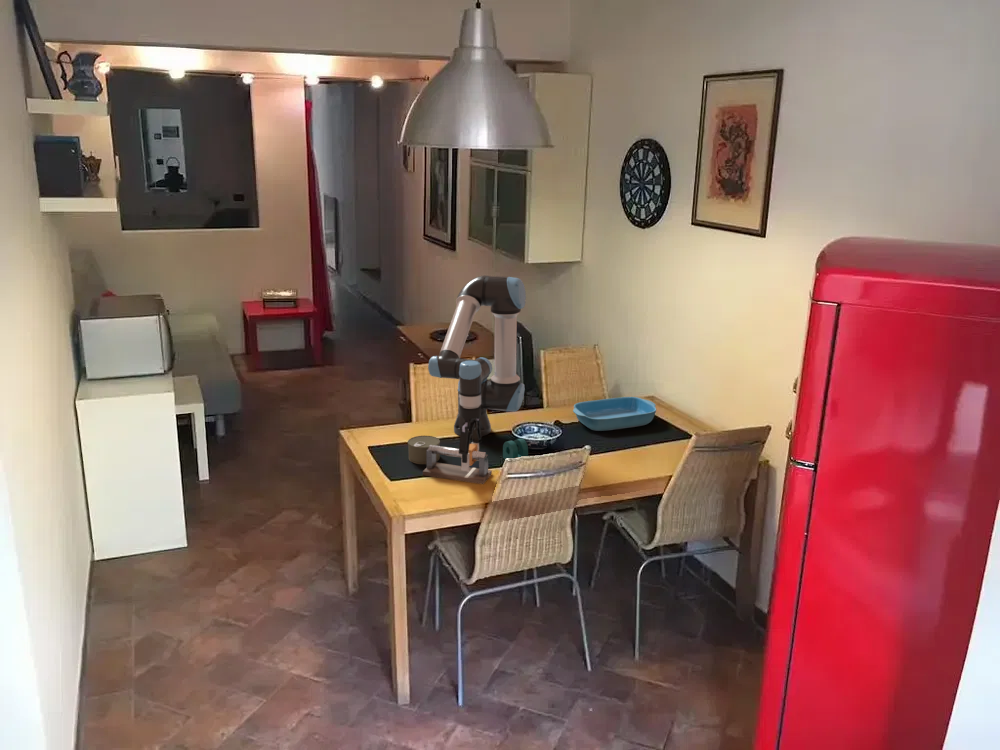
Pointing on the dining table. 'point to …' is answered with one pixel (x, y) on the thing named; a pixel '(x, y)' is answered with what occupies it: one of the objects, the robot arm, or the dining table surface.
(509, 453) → the bracket
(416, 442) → the can
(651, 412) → the casserole dish
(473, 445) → the collar
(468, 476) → the pipe stand
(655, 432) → the dining table surface
